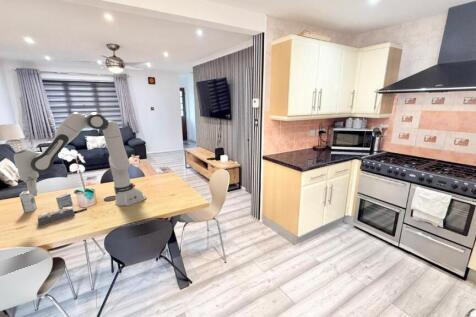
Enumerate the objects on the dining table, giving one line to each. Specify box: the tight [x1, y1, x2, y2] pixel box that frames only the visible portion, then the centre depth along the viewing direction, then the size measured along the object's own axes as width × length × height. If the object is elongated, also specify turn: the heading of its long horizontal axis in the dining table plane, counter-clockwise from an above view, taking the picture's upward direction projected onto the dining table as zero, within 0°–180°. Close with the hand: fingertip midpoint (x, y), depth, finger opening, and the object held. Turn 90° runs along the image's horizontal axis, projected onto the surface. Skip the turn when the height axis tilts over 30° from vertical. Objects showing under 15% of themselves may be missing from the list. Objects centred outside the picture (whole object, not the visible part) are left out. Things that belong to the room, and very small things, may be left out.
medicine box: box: [55, 193, 74, 209], centre depth 170 cm, size 8×4×9 cm, turn 160°
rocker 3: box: [63, 206, 74, 211], centre depth 156 cm, size 5×4×2 cm
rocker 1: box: [37, 211, 49, 220], centre depth 148 cm, size 5×4×2 cm
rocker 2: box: [49, 208, 61, 216], centre depth 152 cm, size 5×4×2 cm
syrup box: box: [18, 190, 38, 213], centre depth 164 cm, size 6×6×14 cm
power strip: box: [37, 205, 88, 226], centre depth 156 cm, size 27×8×4 cm, turn 132°
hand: (35, 195), depth 144 cm, fingers closed
